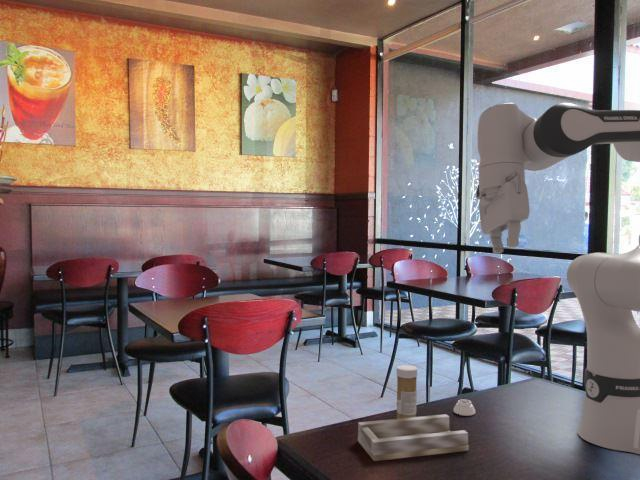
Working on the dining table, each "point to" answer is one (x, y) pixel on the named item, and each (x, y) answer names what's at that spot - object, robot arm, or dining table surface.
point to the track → (410, 437)
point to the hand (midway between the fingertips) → (505, 250)
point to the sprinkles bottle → (406, 391)
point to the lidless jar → (464, 408)
